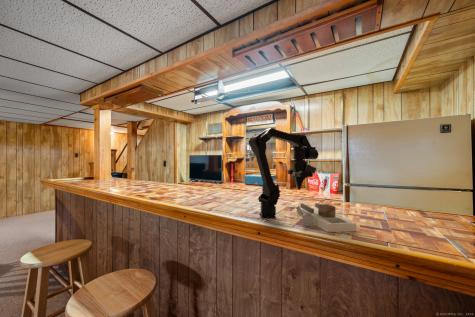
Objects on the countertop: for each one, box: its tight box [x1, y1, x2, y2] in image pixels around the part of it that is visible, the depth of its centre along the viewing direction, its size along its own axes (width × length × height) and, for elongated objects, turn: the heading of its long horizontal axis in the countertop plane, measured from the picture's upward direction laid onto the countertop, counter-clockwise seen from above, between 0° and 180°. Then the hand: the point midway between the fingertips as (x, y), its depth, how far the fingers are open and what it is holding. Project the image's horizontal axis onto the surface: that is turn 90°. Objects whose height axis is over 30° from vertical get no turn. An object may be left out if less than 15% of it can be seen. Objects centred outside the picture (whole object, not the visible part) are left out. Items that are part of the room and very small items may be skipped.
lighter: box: [295, 204, 314, 227], centre depth 86 cm, size 7×2×8 cm, turn 68°
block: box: [318, 203, 337, 218], centre depth 89 cm, size 5×5×4 cm
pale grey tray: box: [296, 202, 357, 233], centre depth 92 cm, size 12×28×5 cm, turn 7°
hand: (299, 189), depth 106 cm, fingers closed
